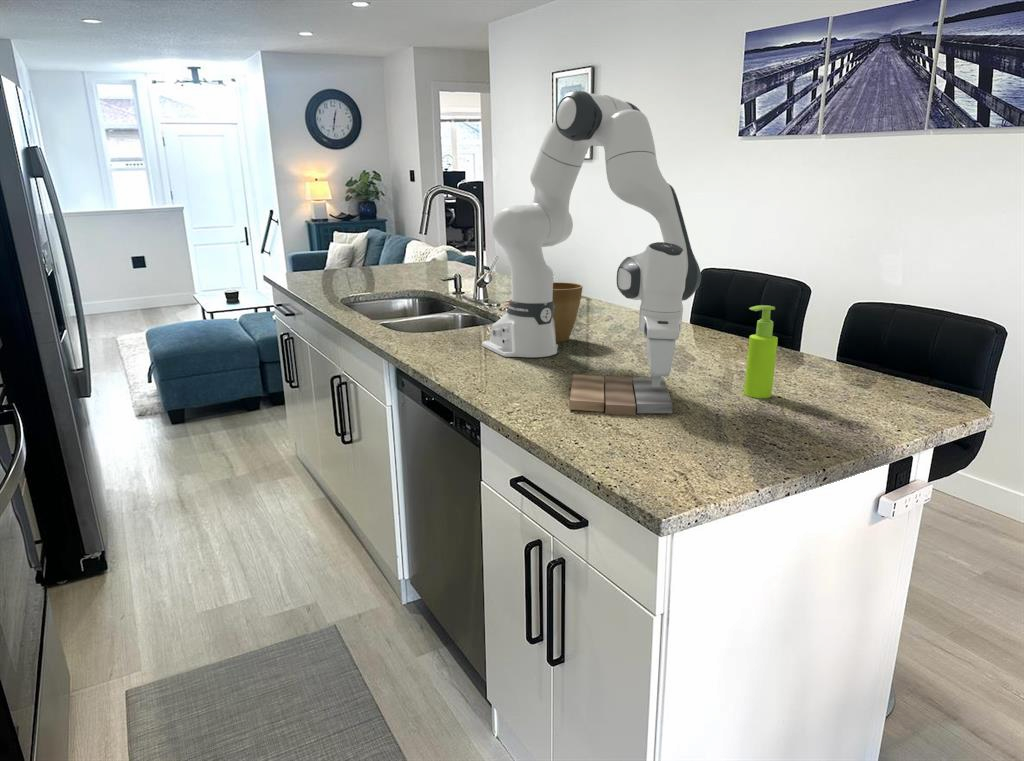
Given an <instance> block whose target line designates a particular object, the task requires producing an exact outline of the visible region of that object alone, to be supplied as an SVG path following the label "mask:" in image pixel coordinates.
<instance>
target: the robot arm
mask: <svg viewBox="0 0 1024 761" xmlns="http://www.w3.org/2000/svg"><path fill="white" fill-rule="evenodd" d="M592 146H594V147H603V149H604V159H605V170H606V171H605V172H606V179H607V183H608V185H609V189H610V190H611V191H612V193H613V194H614V195H615V196H616V198H619V200H621V201H622V202H624V203H626V204H630V205H632V206H634V207H637V208H639V209H641V210H643V211H645V212H647V213H649V214H650V215H651V216H653V218H654V219H655V220H656V221H657V223H658V225H659V228H660V233H661V236H662V240H663V242H660V241H657V242H653V243H650V244H648V245H647V246H646V249H645V250H644V251H642V252H640V253H638V254H635V255H631V256H626V258H624V259H623V260H622V261H621V262H620V265H619V266H618V267H617V271H616V287H617V290H618V291H619V292H620V293H621V295H622V296H623V297H625V298H626V299H629V300H633V301H634V300H635V301H640V302H641V303H640V306H639V316H638V317H639V318H638V330H639V331H641V332H642V333H643V338H644V339H646V345H645V353H646V358H647V361H648V366H649V370H650V377H651V385H652V387H660V381H661V377H664V378H666V377H669V376H670V374H671V371H672V365H673V360H674V355H675V354H674V353H675V348H676V340H679V339H680V333H681V332H682V325H683V312H684V304H683V301H687V300H688V299H689V298H691V297H692V296H693V295H694V293H696V292H697V290H698V288H699V286H700V284H701V280H702V272H701V269H700V266H699V263H698V261H697V259H696V256H695V254H694V252H693V250H692V249H693V248H692V246H691V242H690V239H689V235H688V230H687V228H686V224H685V220H684V216H683V213H682V209H681V206H680V202H679V199H678V196H677V193H676V190H675V188H674V187H673V186H672V185H671V184H670V183H668V182H667V180H666V179H665V178H664V176H663V174H662V172H661V169H660V167H659V164H658V159H657V153H656V146H655V141H654V136H653V132H652V129H651V126H650V122H649V120H648V117H647V116H646V115H645V114H644V113H643V112H642V111H641V110H640V109H639V108H638V107H637V106H636V105H634V104H633V103H631V102H629V101H625V100H621V99H619V98H616V97H614V96H610V95H606V94H605V95H604V94H599V93H598V94H597V93H590V92H586V91H584V90H576V91H571V92H567V93H566V94H565V95H563V97H562V98H561V99H560V101H559V102H558V105H557V107H556V111H555V118H554V120H553V121H552V123H551V125H550V127H549V129H548V131H547V133H546V134H545V136H544V138H543V141H542V143H541V146H540V148H539V151H538V154H537V157H536V159H535V161H534V164H533V167H532V170H531V172H530V176H529V179H530V182H531V185H532V187H533V188H534V197H533V200H532V202H531V203H530V204H525V205H524V204H523V205H521V204H520V205H519V204H518V205H513V206H509V207H506V208H505V209H501V210H500V211H499V212H497V213H496V214H495V216H494V218H493V221H492V224H491V225H492V227H491V228H492V229H491V231H492V235H493V238H494V240H495V242H496V243H497V244H498V245H499V246H500V247H501V248H502V250H503V251H504V253H505V255H506V258H507V260H508V264H509V268H510V277H511V278H510V280H511V296H510V297H511V299H510V300H507V301H505V304H504V306H507V310H506V313H505V314H504V315H503V316H502V317H500V318H499V319H498V320H497V321H495V322H494V323H493V324H492V326H491V328H490V336H489V337H490V339H486V340H484V341H482V343H481V347H484V348H485V349H488V350H490V351H492V352H494V353H496V354H498V355H500V356H502V357H506V358H507V357H509V358H511V357H512V358H513V357H515V358H516V357H519V358H544V357H551V356H554V355H556V354H557V353H558V349H559V345H558V343H557V342H556V336H555V322H554V319H553V314H554V308H555V306H554V301H553V282H554V271H553V269H552V267H550V266H549V265H548V263H547V262H546V261H545V258H544V254H543V248H545V247H553V246H556V245H558V244H559V245H560V244H561V243H563V242H564V241H567V239H569V237H570V236H571V234H572V232H573V228H574V226H573V225H574V223H573V219H572V218H573V217H572V216H571V213H570V199H571V194H572V191H573V189H574V185H575V183H576V180H577V178H578V176H579V173H580V171H581V169H582V166H583V163H584V160H585V158H586V155H587V153H588V151H589V149H590V148H591V147H592Z"/></svg>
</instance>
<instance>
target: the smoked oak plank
mask: <svg viewBox="0 0 1024 761" xmlns="http://www.w3.org/2000/svg"><path fill="white" fill-rule="evenodd" d="M604 382H605V375H604V376H602V375H601V376H600V375H585V374H572V380H571V388H570V394H569V395H570V397H569V408H568V409H569V410H573V411H585V412H587V411H589V412H601V413H602V412H604V411H605V388H604ZM604 413H605V412H604Z"/></svg>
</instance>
